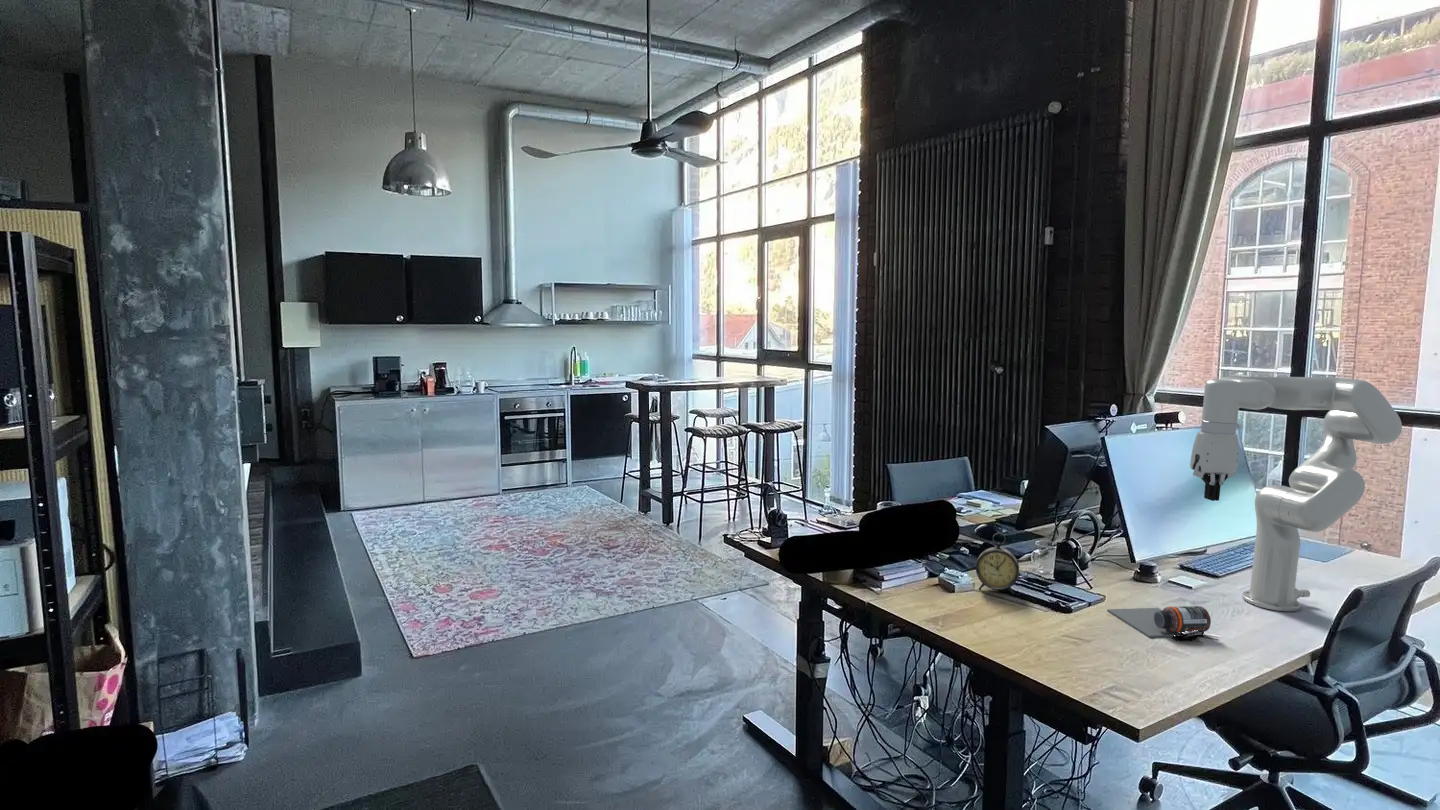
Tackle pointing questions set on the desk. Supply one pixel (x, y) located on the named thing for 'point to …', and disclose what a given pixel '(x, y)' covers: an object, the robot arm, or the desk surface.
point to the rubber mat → (1141, 621)
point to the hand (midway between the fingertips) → (1211, 499)
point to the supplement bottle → (1183, 619)
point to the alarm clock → (997, 568)
